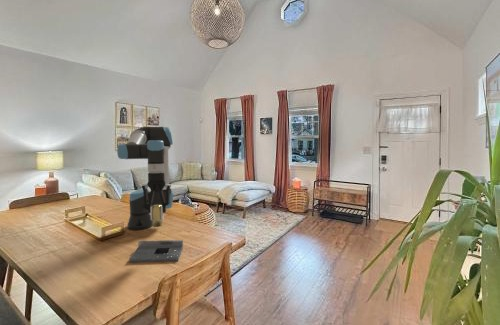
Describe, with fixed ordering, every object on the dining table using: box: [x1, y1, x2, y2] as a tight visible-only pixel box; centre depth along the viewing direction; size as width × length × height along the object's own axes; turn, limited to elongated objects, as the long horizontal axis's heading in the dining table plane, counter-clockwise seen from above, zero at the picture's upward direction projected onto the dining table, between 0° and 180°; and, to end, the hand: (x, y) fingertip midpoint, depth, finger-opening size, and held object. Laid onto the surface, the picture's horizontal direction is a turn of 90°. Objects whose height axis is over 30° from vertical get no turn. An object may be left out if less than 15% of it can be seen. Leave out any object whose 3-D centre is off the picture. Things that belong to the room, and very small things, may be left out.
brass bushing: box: [152, 205, 163, 228], centre depth 126 cm, size 4×4×10 cm
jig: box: [128, 239, 184, 263], centre depth 126 cm, size 22×14×4 cm, turn 95°
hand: (157, 219), depth 126 cm, fingers closed on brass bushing, 4 cm apart
